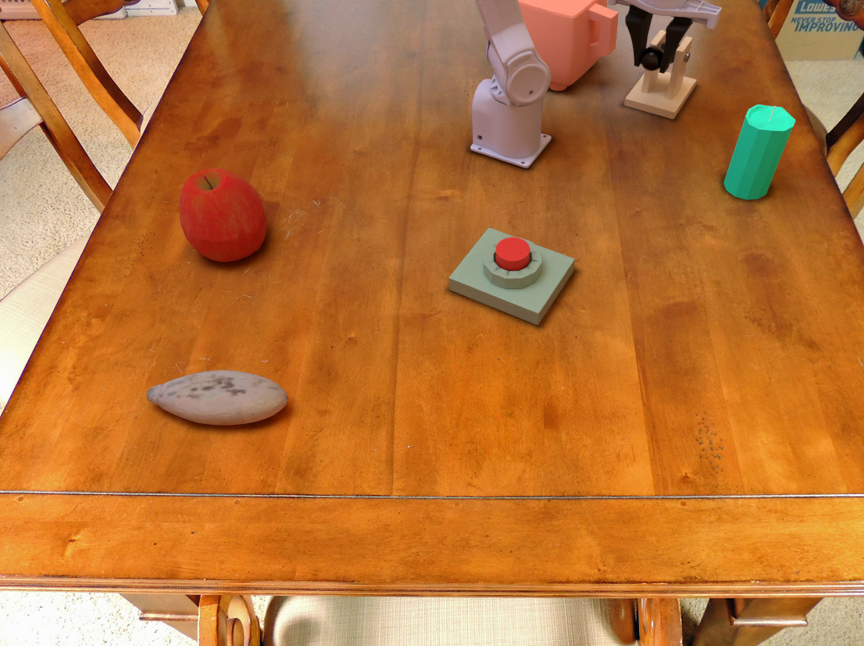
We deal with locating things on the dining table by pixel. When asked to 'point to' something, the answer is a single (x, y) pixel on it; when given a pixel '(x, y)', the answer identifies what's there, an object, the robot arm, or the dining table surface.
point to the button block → (512, 278)
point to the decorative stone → (220, 397)
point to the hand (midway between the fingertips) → (651, 66)
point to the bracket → (664, 84)
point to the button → (512, 254)
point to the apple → (222, 215)
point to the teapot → (570, 35)
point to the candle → (758, 151)
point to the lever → (654, 57)
